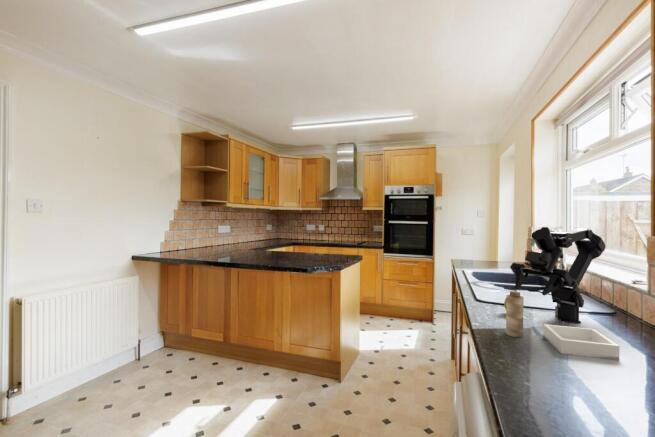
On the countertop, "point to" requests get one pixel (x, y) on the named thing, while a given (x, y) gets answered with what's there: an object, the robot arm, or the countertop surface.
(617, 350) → the bin
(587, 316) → the countertop surface
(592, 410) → the countertop surface
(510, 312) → the pepper mill
